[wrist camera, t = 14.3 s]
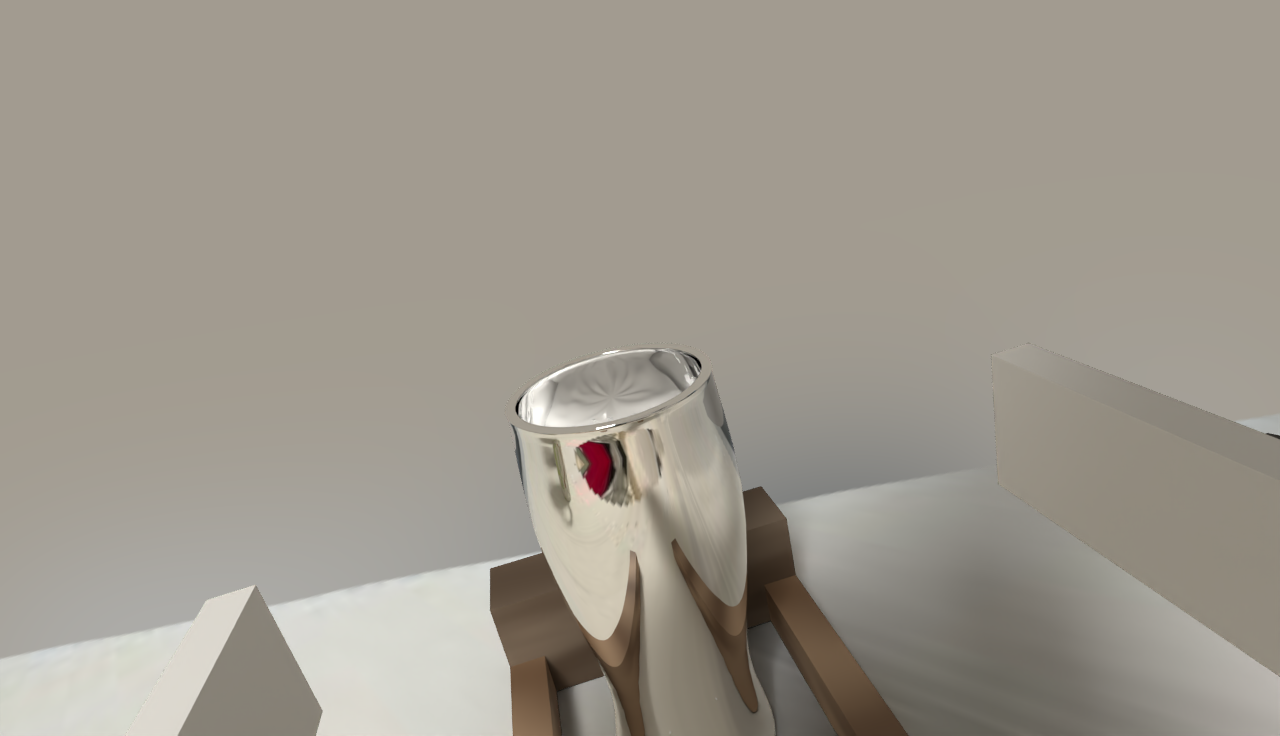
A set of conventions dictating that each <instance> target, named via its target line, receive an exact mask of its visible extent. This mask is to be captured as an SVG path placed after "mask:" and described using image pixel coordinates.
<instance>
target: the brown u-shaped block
mask: <svg viewBox="0 0 1280 736" xmlns="http://www.w3.org/2000/svg"><path fill="white" fill-rule="evenodd" d="M743 498H744V505H745V511H746V525H747V545H748V590H747V628H750V627H753V626H756V625H759V624H762V623H765V622H769V621H771V622H772V624H773V626H774V627H775V629H776V631H777V632H778V634H779V636H780V637H781V639H782V641H783V643H784V644H785V646H786V648H787V649H788V651H789V653H790V655H791V656H792V658H793V660H794V661H795V663H796V665H797V667H798V668H799V670H800V672H801V673H802V675H803V677H804V679H805V680H806V682H807V684H808V685H809V687H810V689H811V691H812V692H813V694H814V696H815V697H816V699H817V701H818V703H819V704H820V706H821V708H822V709H823V711H824V713H825V715H826V716H827V718H828V720H829V721H830V723H831V725H832V727H833V728H834V730H835V732H836V733H837V735H838V736H908V734H907V733H906V731H905V730H904V729H903V727H902V726H901V724H900V723H899V721H898V720H897V719H896V717H895V716H894V714H893V713H892V711H891V710H890V709H889V707H888V706H887V704H886V703H885V701H884V700H883V699H882V697H881V696H880V694H879V693H878V692H877V690H876V689H875V687H874V686H873V684H872V683H871V682H870V680H869V679H868V677H867V676H866V674H865V673H864V672H863V670H862V669H861V667H860V666H859V664H858V663H857V662H856V660H855V659H854V657H853V656H852V654H851V653H850V652H849V650H848V649H847V647H846V646H845V645H844V643H843V642H842V640H841V639H840V637H839V636H838V635H837V633H836V632H835V630H834V629H833V627H832V626H831V625H830V623H829V622H828V620H827V619H826V617H825V616H824V615H823V613H822V612H821V610H820V609H819V608H818V606H817V605H816V603H815V602H814V600H813V599H812V598H811V596H810V595H809V593H808V592H807V590H806V589H805V588H804V586H803V585H802V583H801V582H800V580H799V579H798V578H797V576H796V574H795V568H794V562H793V556H792V550H791V544H790V538H789V531H788V525H787V519H786V517H785V516H784V515H783V514H782V512H781V511H780V510H779V508H778V507H777V506H776V505H775V503H774V502H773V501H772V499H771V498H770V497H769V496H768V494H767V493H766V492H765V491H764V489H763V488H762V487H757V488H754V489H751V490H747V491H744V492H743ZM490 611H491V614H492V617H493V620H494V623H495V625H496V628H497V631H498V634H499V637H500V639H501V642H502V645H503V648H504V651H505V653H506V656H507V659H508V662H509V665H510V671H511V698H512V724H513V736H562V732H561V724H560V716H559V707H558V699H557V691H559V690H562V689H565V688H568V687H571V686H574V685H577V684H580V683H583V682H586V681H589V680H592V679H595V678H599V677H602V676H605V675H604V673H603V672H602V670H601V668H600V666H599V664H598V662H597V660H596V658H595V656H594V654H593V653H592V651H591V649H590V647H589V646H588V644H587V642H586V640H585V639H584V637H583V635H582V633H581V632H580V630H579V628H578V626H577V624H576V623H575V621H574V619H573V617H572V615H571V613H570V612H569V610H568V608H567V606H566V604H565V603H564V601H563V599H562V596H561V594H560V592H559V590H558V588H557V586H556V584H555V582H554V580H553V578H552V576H551V573H550V571H549V569H548V567H547V565H546V562H545V559H544V556H543V553H540V554H537V555H534V556H530V557H527V558H524V559H521V560H517V561H514V562H511V563H507V564H504V565H501V566H498V567H494V568H491V569H490Z"/></svg>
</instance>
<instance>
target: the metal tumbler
mask: <svg viewBox="0 0 1280 736" xmlns="http://www.w3.org/2000/svg"><path fill="white" fill-rule="evenodd" d="M505 414H506V418H507V420H508V422H509V426H510V430H511V434H512V439H513V443H514V449H515V453H516V458H517V463H518V468H519V472H520V477H521V481H522V486H523V490H524V494H525V498H526V502H527V506H528V509H529V512H530V516H531V520H532V523H533V527H534V531H535V534H536V537H537V539H538V542H539V545H540V548H541V551H542V553H543V556H544V559H545V562H546V565H547V567H548V569H549V571H550V573H551V576H552V578H553V580H554V582H555V584H556V586H557V588H558V590H559V592H560V594H561V596H562V599H563V601H564V603H565V604H566V606H567V608H568V610H569V612H570V613H571V615H572V617H573V619H574V621H575V623H576V624H577V626H578V628H579V630H580V632H581V633H582V635H583V637H584V639H585V640H586V642H587V644H588V646H589V647H590V649H591V651H592V653H593V654H594V656H595V658H596V660H597V662H598V664H599V666H600V668H601V670H602V672H603V673H604V675H605V678H606V680H607V683H608V686H609V688H610V691H611V695H612V699H613V704H614V711H615V726H616V736H775V721H774V717H773V713H772V710H771V707H770V704H769V702H768V699H767V697H766V695H765V692H764V690H763V688H762V686H761V684H760V682H759V679H758V677H757V675H756V673H755V670H754V667H753V665H752V661H751V657H750V653H749V645H748V638H747V590H748V545H747V525H746V511H745V505H744V498H743V492H742V486H741V478H740V473H739V469H738V465H737V460H736V456H735V452H734V447H733V443H732V439H731V435H730V432H729V428H728V424H727V421H726V418H725V414H724V410H723V407H722V403H721V400H720V397H719V394H718V390H717V386H716V383H715V379H714V375H713V371H712V363H711V360H710V359H709V357H708V356H707V355H706V354H705V353H704V352H702V351H700V350H698V349H696V348H693V347H690V346H686V345H680V344H673V343H645V344H634V345H627V346H621V347H615V348H610V349H606V350H602V351H597V352H594V353H590V354H587V355H583V356H580V357H577V358H574V359H572V360H569V361H566V362H564V363H561V364H559V365H556V366H554V367H552V368H550V369H548V370H546V371H544V372H542V373H540V374H538V375H537V376H535V377H533V378H532V379H530V380H529V381H527V382H526V383H525V384H523V385H522V386H521V387H520V388H518V389H517V390H516V391H515V392H514V393H513V395H512V396H511V397H510V399H509V400H508V402H507V405H506V408H505Z"/></svg>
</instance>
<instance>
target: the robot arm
mask: <svg viewBox="0 0 1280 736" xmlns="http://www.w3.org/2000/svg"><path fill="white" fill-rule="evenodd" d="M991 363H992V382H993V399H994V419H995V435H996V436H995V437H996V454H997V474H998V484H999V485H1000V486H1002V487H1003V488H1005V489H1006V490H1008V491H1009V492H1011V493H1012V494H1014V495H1015V496H1017V497H1018V498H1019V499H1021V500H1022V501H1024V502H1025V503H1027V504H1028V505H1030V506H1031V507H1033V508H1034V509H1036V510H1037V511H1038V512H1040V513H1041V514H1043V515H1044V516H1046V517H1047V518H1049V519H1050V520H1052V521H1053V522H1054V523H1056V524H1057V525H1059V526H1060V527H1062V528H1063V529H1065V530H1066V531H1068V532H1069V533H1071V534H1072V535H1073V536H1075V537H1076V538H1078V539H1079V540H1081V541H1082V542H1084V543H1085V544H1087V545H1088V546H1090V547H1091V548H1092V549H1094V550H1095V551H1097V552H1098V553H1100V554H1101V555H1103V556H1104V557H1106V558H1107V559H1109V560H1110V561H1111V562H1113V563H1114V564H1116V565H1117V566H1119V567H1120V568H1122V569H1123V570H1125V571H1126V572H1128V573H1129V574H1130V575H1132V576H1133V577H1135V578H1136V579H1138V580H1139V581H1141V582H1142V583H1144V584H1145V585H1146V586H1148V587H1149V588H1151V589H1152V590H1154V591H1155V592H1157V593H1158V594H1160V595H1161V596H1163V597H1164V598H1165V599H1167V600H1168V601H1170V602H1171V603H1173V604H1174V605H1176V606H1177V607H1179V608H1180V609H1182V610H1183V611H1184V612H1186V613H1187V614H1189V615H1190V616H1192V617H1193V618H1195V619H1196V620H1198V621H1199V622H1201V623H1202V624H1203V625H1205V626H1206V627H1208V628H1209V629H1211V630H1212V631H1214V632H1215V633H1217V634H1218V635H1220V636H1221V637H1222V638H1224V639H1225V640H1227V641H1228V642H1230V643H1231V644H1233V645H1234V646H1236V647H1237V648H1238V649H1240V650H1241V651H1243V652H1244V653H1246V654H1247V655H1249V656H1250V657H1252V658H1253V659H1255V660H1256V661H1257V662H1259V663H1260V664H1262V665H1263V666H1265V667H1266V668H1268V669H1269V670H1271V671H1272V672H1274V673H1275V674H1276V675H1278V676H1279V677H1280V436H1279V435H1274V434H1269V433H1266V434H1264V433H1262V432H1259V431H1256V430H1254V429H1251V428H1249V427H1246V426H1243V425H1241V424H1238V423H1236V422H1233V421H1230V420H1227V419H1225V418H1223V417H1220V416H1217V415H1215V414H1212V413H1210V412H1207V411H1204V410H1202V409H1199V408H1197V407H1194V406H1191V405H1189V404H1186V403H1184V402H1181V401H1178V400H1176V399H1173V398H1171V397H1168V396H1165V395H1163V394H1160V393H1158V392H1155V391H1152V390H1150V389H1147V388H1145V387H1142V386H1139V385H1137V384H1134V383H1132V382H1129V381H1126V380H1124V379H1121V378H1119V377H1116V376H1113V375H1111V374H1108V373H1106V372H1103V371H1101V370H1098V369H1095V368H1093V367H1090V366H1088V365H1085V364H1082V363H1079V362H1077V361H1075V360H1072V359H1069V358H1067V357H1064V356H1061V355H1059V354H1056V353H1054V352H1051V351H1048V350H1046V349H1043V348H1041V347H1038V346H1036V345H1033V344H1030V343H1027V344H1023V345H1020V346H1017V347H1014V348H1011V349H1008V350H1004V351H1001V352H998V353H995V354H991ZM322 712H323V711H322V709H321V707H320V705H319V703H318V701H317V699H316V698H315V696H314V694H313V692H312V690H311V688H310V686H309V684H308V682H307V681H306V679H305V677H304V675H303V673H302V671H301V669H300V667H299V665H298V664H297V662H296V660H295V658H294V656H293V654H292V652H291V650H290V648H289V647H288V645H287V643H286V641H285V639H284V637H283V635H282V633H281V631H280V630H279V628H278V626H277V624H276V622H275V620H274V618H273V616H272V614H271V613H270V611H269V609H268V607H267V605H266V603H265V601H264V599H263V597H262V596H261V594H260V592H259V590H258V588H257V586H256V585H253V586H250V587H247V588H244V589H240V590H237V591H234V592H231V593H228V594H225V595H221V596H218V597H215V598H212V599H209V600H206V602H205V604H204V605H203V607H202V609H201V611H200V612H199V614H198V615H197V617H196V619H195V620H194V622H193V624H192V625H191V627H190V628H189V630H188V632H187V633H186V635H185V637H184V638H183V640H182V642H181V643H180V645H179V647H178V648H177V650H176V652H175V653H174V655H173V656H172V658H171V660H170V661H169V663H168V665H167V666H166V668H165V670H164V671H163V673H162V675H161V676H160V678H159V680H158V681H157V683H156V684H155V686H154V688H153V689H152V691H151V693H150V694H149V696H148V698H147V699H146V701H145V703H144V704H143V706H142V708H141V709H140V711H139V713H138V714H137V716H136V717H135V719H134V721H133V722H132V724H131V726H130V727H129V729H128V731H127V732H126V734H125V736H316V733H317V729H318V726H319V722H320V719H321V715H322Z"/></svg>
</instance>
